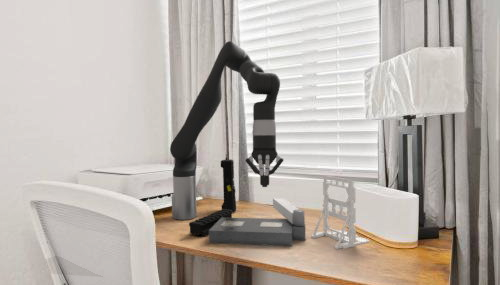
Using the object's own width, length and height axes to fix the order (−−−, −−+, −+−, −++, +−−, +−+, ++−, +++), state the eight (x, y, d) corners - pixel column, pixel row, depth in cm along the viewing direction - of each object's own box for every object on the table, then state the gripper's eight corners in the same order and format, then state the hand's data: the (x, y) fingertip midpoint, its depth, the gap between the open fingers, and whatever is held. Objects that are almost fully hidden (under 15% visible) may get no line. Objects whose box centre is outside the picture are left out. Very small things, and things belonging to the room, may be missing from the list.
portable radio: (235, 213, 142) (234, 155, 141) (221, 213, 142) (220, 155, 141) (236, 209, 150) (235, 154, 149) (223, 209, 150) (221, 154, 149)
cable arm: (306, 225, 106) (306, 211, 106) (294, 226, 106) (294, 212, 106) (282, 206, 134) (282, 195, 134) (273, 207, 133) (272, 196, 133)
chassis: (209, 243, 105) (208, 229, 105) (221, 228, 120) (221, 216, 120) (305, 246, 100) (305, 232, 100) (305, 230, 116) (305, 218, 115)
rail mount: (219, 221, 132) (219, 208, 131) (234, 222, 129) (233, 210, 128) (185, 236, 113) (185, 222, 112) (201, 239, 110) (201, 224, 109)
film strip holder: (373, 242, 102) (373, 178, 102) (339, 250, 96) (338, 181, 96) (341, 230, 115) (340, 173, 115) (309, 236, 109) (308, 176, 109)
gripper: (285, 133, 111) (285, 185, 112) (246, 134, 113) (247, 184, 114) (283, 134, 104) (284, 189, 104) (242, 134, 106) (242, 188, 107)
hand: (264, 186), depth 109 cm, fingers closed
